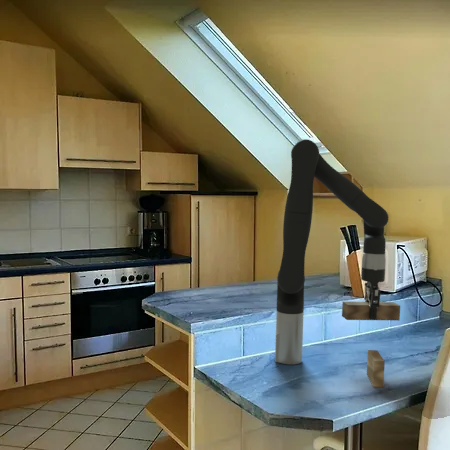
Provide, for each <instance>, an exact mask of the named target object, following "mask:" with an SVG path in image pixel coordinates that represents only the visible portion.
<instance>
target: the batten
mask: <svg viewBox="0 0 450 450" xmlns="http://www.w3.org/2000/svg"><path fill="white" fill-rule="evenodd" d="M373 303H375V301H374V302H373ZM375 304H376V303H375ZM369 305H370V304H369V302H365V301H342V306H341V307H342V308H341V318H344V319H345V320H347V321H400V318H401V317H400V315H401V305H400V304H398V303H396V302H393V301H392V302H391V301H387V302H386V301H380V302H379V307H378V308H377V317H376V319H370V318H369V311H370V307H369Z"/></svg>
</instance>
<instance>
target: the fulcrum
mask: <svg viewBox="0 0 450 450" xmlns="http://www.w3.org/2000/svg"><path fill="white" fill-rule="evenodd" d="M366 359H367V360H366V361H367V362H366V363H367V364H366V377H368V380H369V381H370V384H371V385H372V387H374V388H384V385H385V384H384V383H385V359H384V358H383V356H382V355H381V353H380V352H379V350H376V349H375V350H374V349H367V358H366Z"/></svg>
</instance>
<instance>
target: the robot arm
mask: <svg viewBox="0 0 450 450" xmlns="http://www.w3.org/2000/svg"><path fill="white" fill-rule="evenodd" d="M290 152H291V153H290V157H291V171H290V172H291V179H290V185H289V189H288V192H287V196H286V202H285V206H284V207H285V208H284V214H283V223H282V224H283V225H282V226H283V227H282V240H283V244H282V245H283V247H282V248H283V250H282V257H281V260H280V261H281V262H280V266H279V270H278V272H277V277H276V279H277V281H276V282H277V284H276V285H277V287H276V292H277V293H276V317H275V318H276V321H275V342H274V345H275V348H274V351H275V352H274V362H275V363H279V364H283V365H298V364H301V363H302V362H303V347H304V346H303V344H304V343H303V341H304V338H303V337H304V316H305V315H304V311H305V309H304V308H305V307H304V306H305V281H306V279H305V277H306V276H305V259H306V258H305V257H306V250H307V246H308V242H309V238H310V232H311V227H312V220H313V210H314V209H313V207H314V179H317V181H319V182H320V183H321V184H322V185H324V186H325V188H327V189H328V190H329V191H330V192H331V193H332V194H333V195H334V196H335V197H336V198H337V199H338V200H339V201H340V202H342V203H343V204H344V205H345V206H346V207H347V208H349V210H351V211H353V212H354V213H356V214H357V215H358V216H359V218H361V219H362V221H363V236H364V237H363V250H362V251H363V252H362V257H361V258H362V259H361V271H360V272H361V275H360V279H361V280H362V281H363V282H364V302H369V304H370V305H369V307H370V311H369V318H370V319H376V317H377V308H378V307H379V302H381V299H380V298H381V290H380V287H379V283H384V282H385V275H386V246H387V245H386V244H387V243H386V242H387V241H386V237H385V226H387V224H388V223H389V214H388V211H386V210H385V209H384V208H383V206H381V205H380V204H378V203H377V202H376V201H374V199H372V198H370V197H369V195H367V194H366V193H365V192H364V191H363V190H362V189H361V188H360V187H359V186H358V185H356V184H355V183H354V182H353V181H351V180H350V179H349V178H347V177H346V176H345V175H343V174H342V173H341V172H339V171H337V170H336V169H335V168H334V167H333V166H332V165H330V164H329V163H328V162H327V161H326V160H325V158H324V157H323V156H322V155H321V154H320V150H319V147H318V145H317V144H316V142H314V141H313V140H310V139H301V140H298V141H297V142H296V143H295V144H294V145H293V146H292V148H291V151H290ZM373 302H375V303H376V304H375V303H373Z"/></svg>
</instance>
